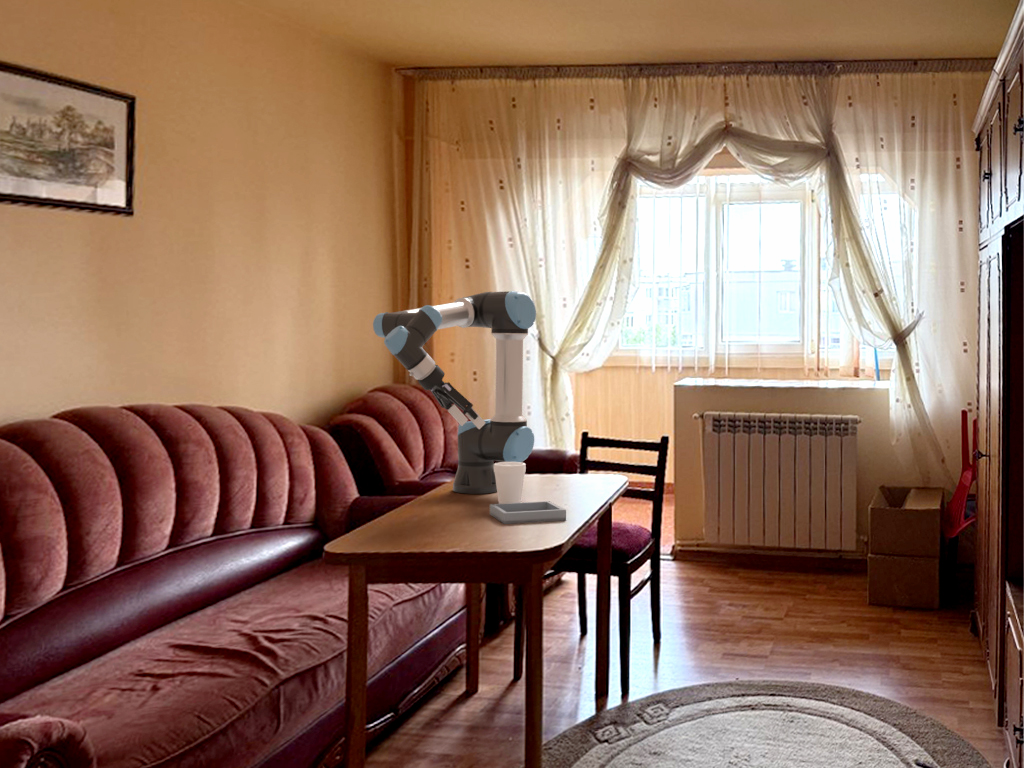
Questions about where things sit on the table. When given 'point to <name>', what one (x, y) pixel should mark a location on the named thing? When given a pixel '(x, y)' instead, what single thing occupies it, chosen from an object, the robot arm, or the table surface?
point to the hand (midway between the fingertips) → (473, 424)
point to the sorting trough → (527, 512)
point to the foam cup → (509, 481)
